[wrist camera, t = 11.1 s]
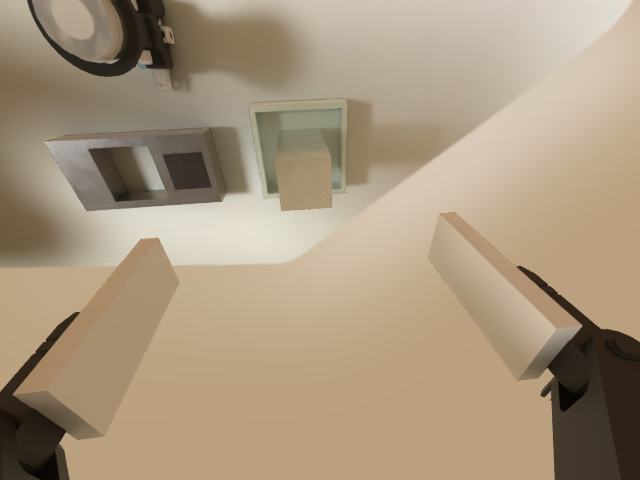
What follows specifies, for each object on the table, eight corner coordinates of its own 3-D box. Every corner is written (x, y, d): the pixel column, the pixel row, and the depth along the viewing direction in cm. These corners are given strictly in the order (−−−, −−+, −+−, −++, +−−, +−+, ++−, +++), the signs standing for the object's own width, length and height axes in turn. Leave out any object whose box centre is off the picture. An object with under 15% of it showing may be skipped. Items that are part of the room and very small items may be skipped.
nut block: (284, 168, 29) (281, 211, 20) (279, 130, 26) (274, 160, 18) (320, 166, 29) (331, 207, 21) (319, 128, 27) (331, 156, 18)
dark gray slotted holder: (100, 200, 29) (85, 211, 27) (64, 135, 25) (43, 142, 23) (226, 192, 30) (221, 201, 28) (210, 127, 26) (202, 133, 24)
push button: (199, 90, 24) (152, 103, 16) (139, 89, 24) (59, 102, 16) (179, -7, 21) (105, -54, 12) (108, -10, 20) (-19, -61, 12)
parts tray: (265, 189, 30) (263, 198, 28) (251, 103, 25) (248, 106, 23) (342, 184, 31) (345, 192, 29) (343, 98, 26) (347, 101, 24)
